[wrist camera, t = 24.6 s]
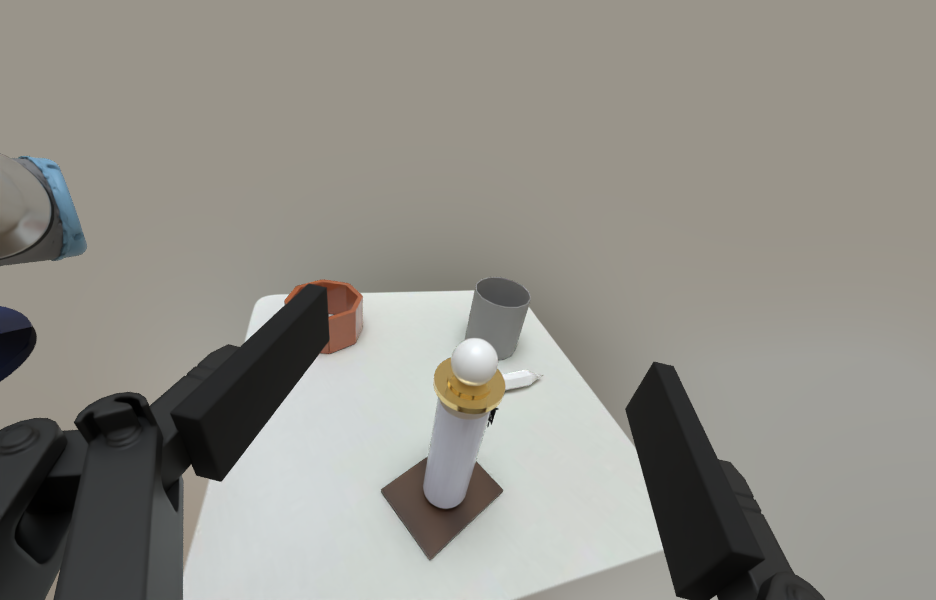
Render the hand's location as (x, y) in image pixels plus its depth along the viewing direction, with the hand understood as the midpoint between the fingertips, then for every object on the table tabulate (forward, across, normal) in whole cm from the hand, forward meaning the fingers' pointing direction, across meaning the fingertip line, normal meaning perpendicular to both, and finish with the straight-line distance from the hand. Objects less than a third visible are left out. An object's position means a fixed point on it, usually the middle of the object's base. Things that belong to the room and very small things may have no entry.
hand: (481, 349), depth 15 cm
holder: (+30, -22, -28) cm, 47 cm away
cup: (+36, +2, -28) cm, 46 cm away
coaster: (+10, 0, -28) cm, 30 cm away
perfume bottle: (+10, 0, -28) cm, 29 cm away
